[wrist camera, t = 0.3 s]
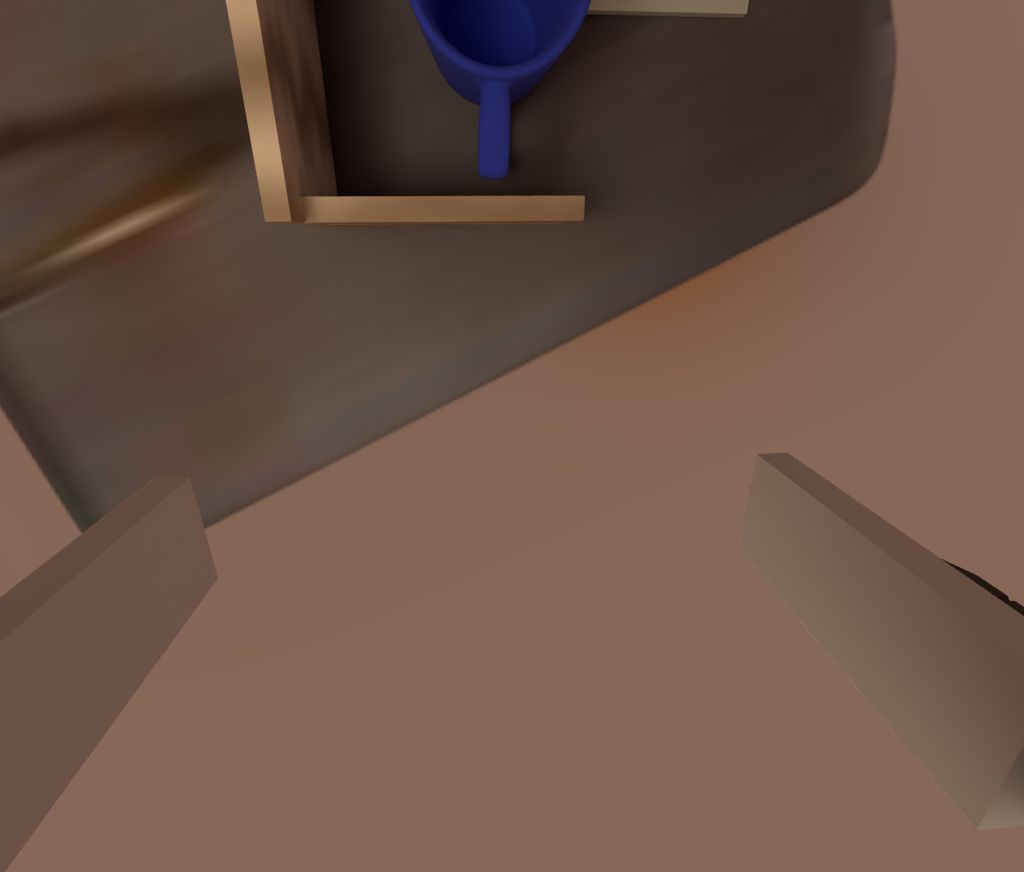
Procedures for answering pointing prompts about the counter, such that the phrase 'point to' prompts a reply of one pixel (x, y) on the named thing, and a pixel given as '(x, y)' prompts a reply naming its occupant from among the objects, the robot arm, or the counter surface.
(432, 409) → the counter surface
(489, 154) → the mug
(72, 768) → the robot arm
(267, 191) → the rack
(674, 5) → the sage tile
